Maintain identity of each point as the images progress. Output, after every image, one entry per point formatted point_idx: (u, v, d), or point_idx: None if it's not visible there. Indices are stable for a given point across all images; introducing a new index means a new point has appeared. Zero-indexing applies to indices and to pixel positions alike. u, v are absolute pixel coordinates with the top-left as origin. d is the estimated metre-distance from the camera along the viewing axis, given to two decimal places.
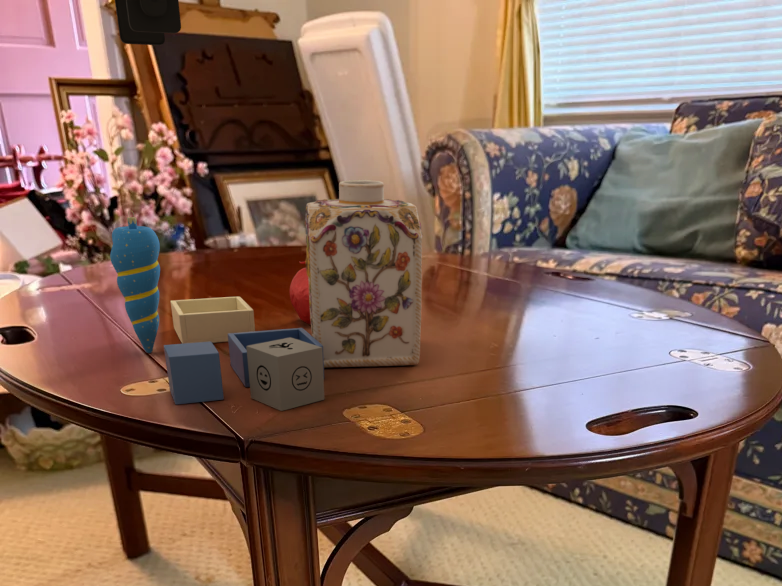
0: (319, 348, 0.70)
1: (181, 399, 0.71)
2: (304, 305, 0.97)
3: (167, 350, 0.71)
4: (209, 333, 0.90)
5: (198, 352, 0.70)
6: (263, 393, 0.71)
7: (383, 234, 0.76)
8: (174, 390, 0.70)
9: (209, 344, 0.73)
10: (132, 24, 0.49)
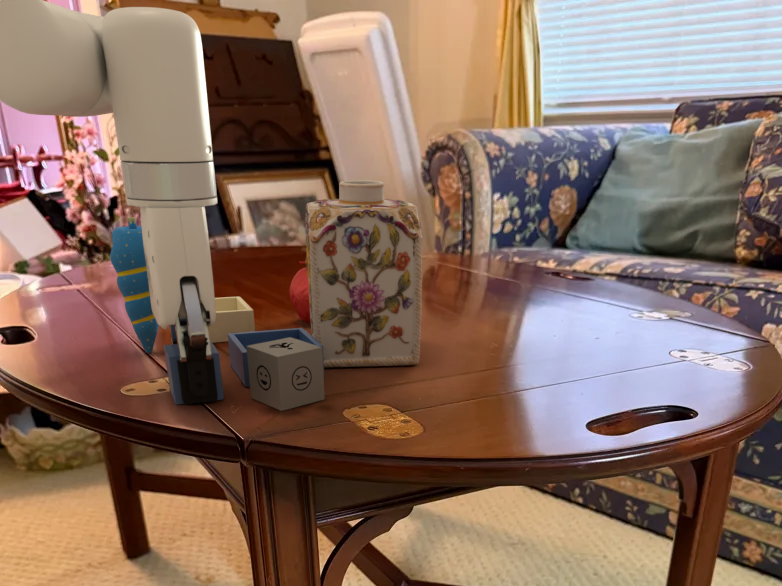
0: (319, 348, 0.70)
1: (181, 399, 0.71)
2: (304, 305, 0.97)
3: (167, 350, 0.71)
4: (209, 333, 0.90)
5: None
6: (263, 393, 0.71)
7: (383, 234, 0.76)
8: (174, 390, 0.70)
9: None
10: (184, 401, 0.70)
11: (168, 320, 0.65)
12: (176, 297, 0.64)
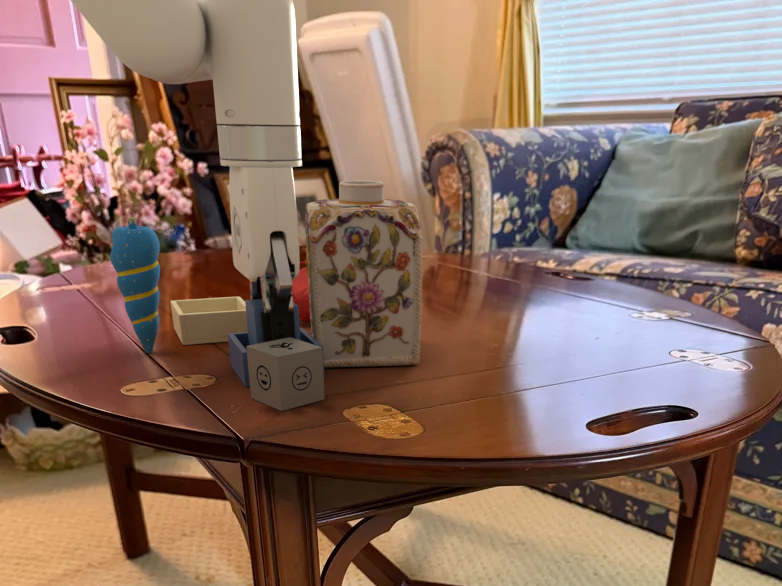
0: (319, 348, 0.70)
1: None
2: (304, 305, 0.97)
3: (250, 304, 0.76)
4: (209, 333, 0.90)
5: None
6: (263, 393, 0.71)
7: (383, 234, 0.76)
8: (257, 340, 0.76)
9: None
10: None
11: (258, 272, 0.70)
12: (266, 250, 0.70)
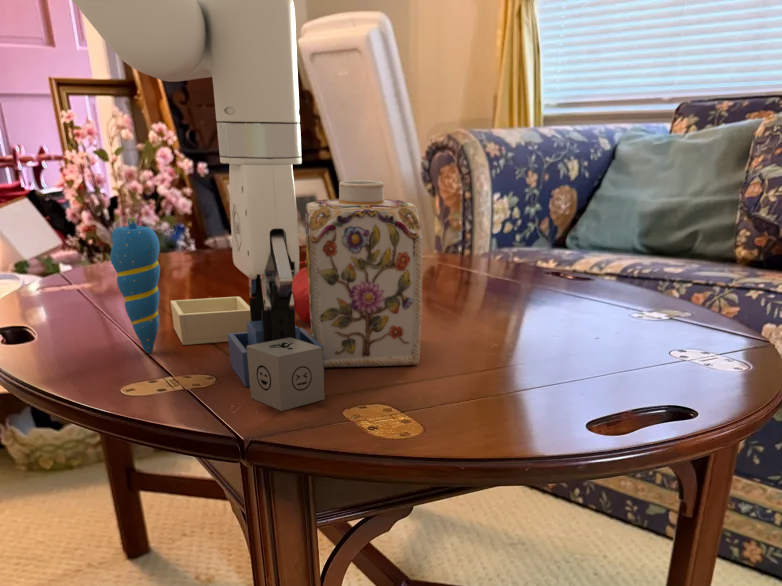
0: (319, 348, 0.70)
1: None
2: (304, 305, 0.97)
3: (251, 325, 0.77)
4: (209, 333, 0.90)
5: None
6: (263, 393, 0.71)
7: (383, 234, 0.76)
8: None
9: None
10: None
11: (257, 270, 0.70)
12: (266, 248, 0.70)
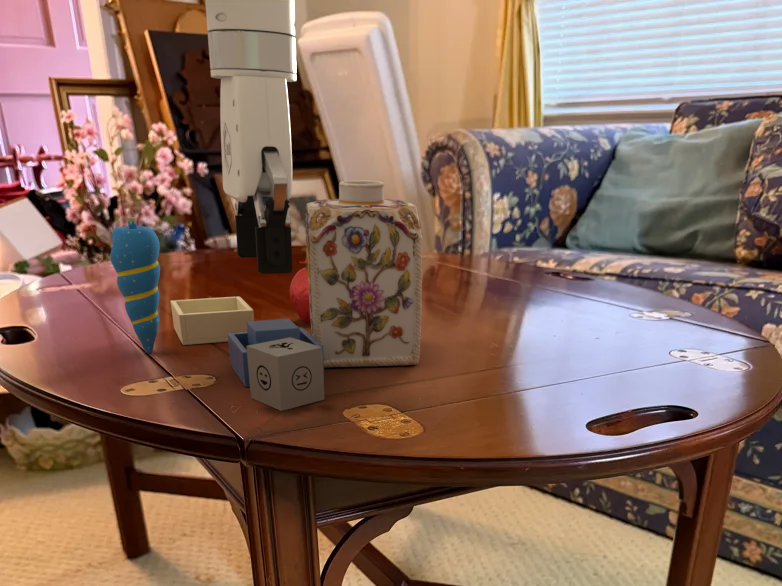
0: (319, 348, 0.70)
1: None
2: (304, 305, 0.97)
3: (251, 325, 0.77)
4: (209, 333, 0.90)
5: (280, 327, 0.77)
6: (263, 393, 0.71)
7: (383, 234, 0.76)
8: None
9: (288, 321, 0.80)
10: (260, 270, 0.70)
11: (248, 190, 0.67)
12: (257, 167, 0.66)
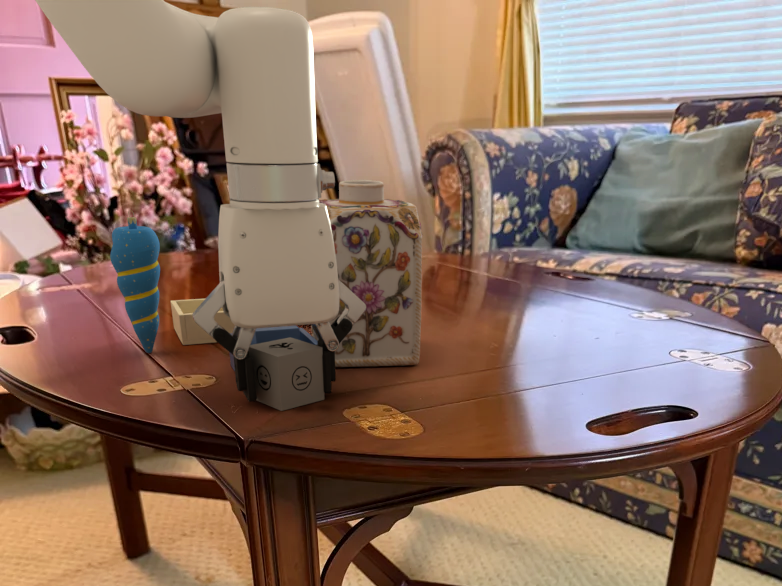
0: (319, 348, 0.70)
1: None
2: None
3: None
4: None
5: (280, 327, 0.77)
6: (263, 393, 0.71)
7: (383, 234, 0.76)
8: None
9: None
10: None
11: None
12: None
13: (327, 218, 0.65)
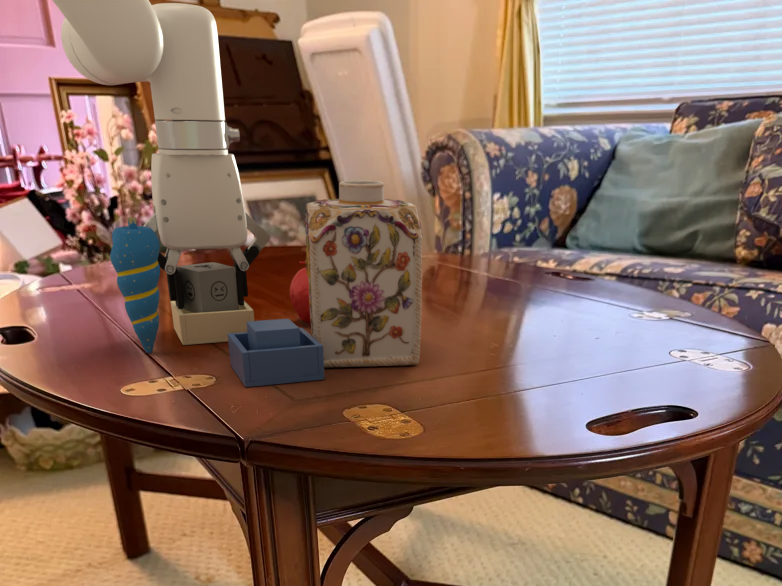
0: (233, 268, 0.91)
1: None
2: (304, 305, 0.97)
3: (251, 325, 0.77)
4: (209, 333, 0.90)
5: (280, 327, 0.77)
6: (190, 303, 0.91)
7: (383, 234, 0.76)
8: None
9: (288, 321, 0.80)
10: None
11: (157, 236, 0.89)
12: None
13: (234, 164, 0.85)
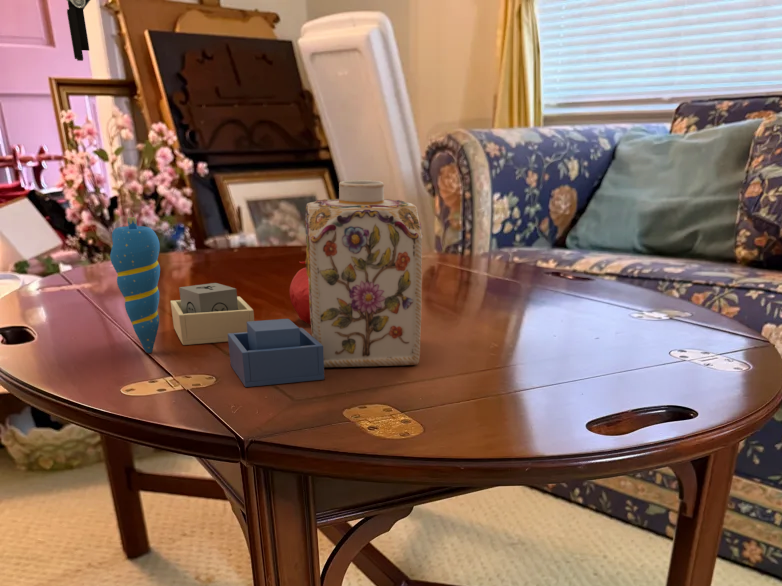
0: (234, 289, 0.92)
1: None
2: (304, 305, 0.97)
3: (251, 325, 0.77)
4: (209, 333, 0.90)
5: (280, 327, 0.77)
6: None
7: (383, 234, 0.76)
8: None
9: (288, 321, 0.80)
10: None
11: None
12: None
13: None
